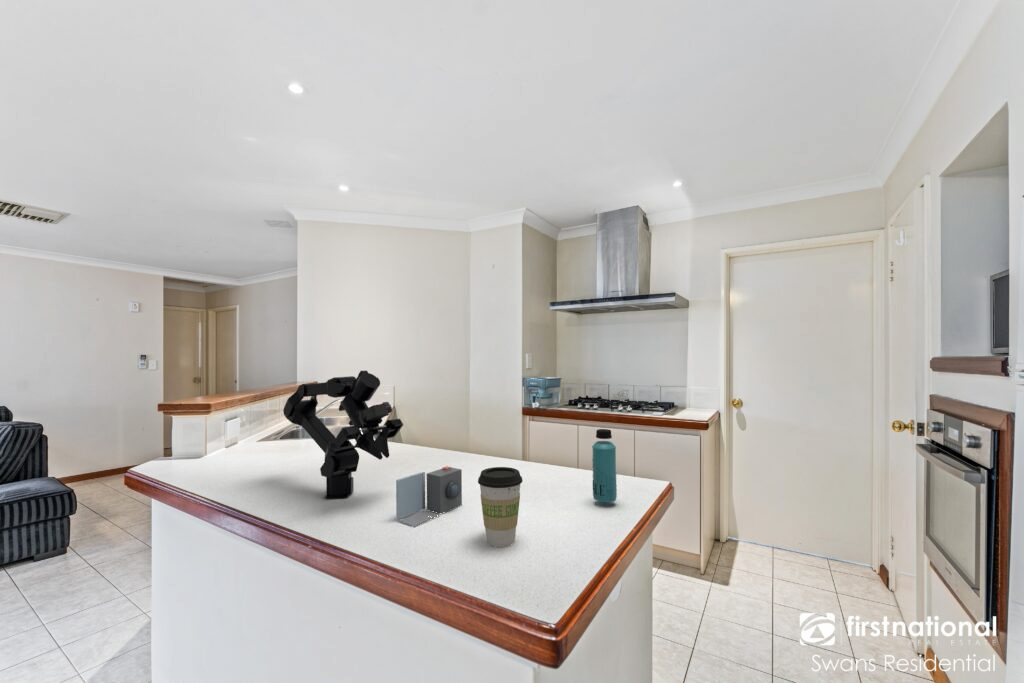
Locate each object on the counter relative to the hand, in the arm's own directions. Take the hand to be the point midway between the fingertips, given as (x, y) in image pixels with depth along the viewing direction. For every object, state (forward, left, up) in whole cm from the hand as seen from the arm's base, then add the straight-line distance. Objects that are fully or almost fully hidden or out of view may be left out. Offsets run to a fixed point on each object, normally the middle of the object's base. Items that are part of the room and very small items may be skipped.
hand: (384, 457), depth 118 cm
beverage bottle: (+58, -2, -14) cm, 60 cm away
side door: (+8, -5, -13) cm, 16 cm away
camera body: (+13, -4, -14) cm, 19 cm away
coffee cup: (+29, -22, -14) cm, 39 cm away
